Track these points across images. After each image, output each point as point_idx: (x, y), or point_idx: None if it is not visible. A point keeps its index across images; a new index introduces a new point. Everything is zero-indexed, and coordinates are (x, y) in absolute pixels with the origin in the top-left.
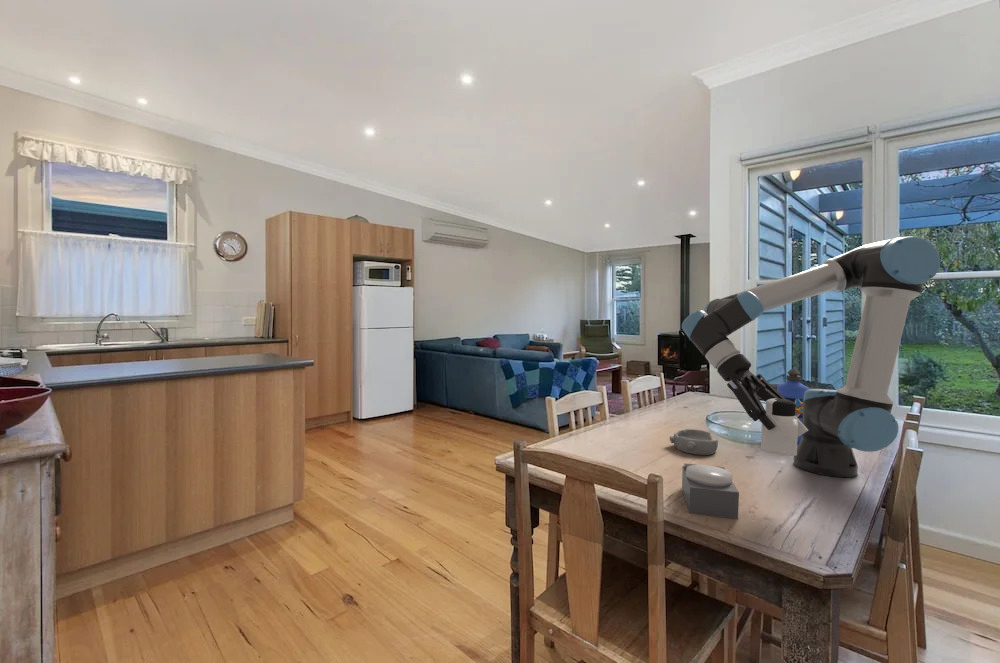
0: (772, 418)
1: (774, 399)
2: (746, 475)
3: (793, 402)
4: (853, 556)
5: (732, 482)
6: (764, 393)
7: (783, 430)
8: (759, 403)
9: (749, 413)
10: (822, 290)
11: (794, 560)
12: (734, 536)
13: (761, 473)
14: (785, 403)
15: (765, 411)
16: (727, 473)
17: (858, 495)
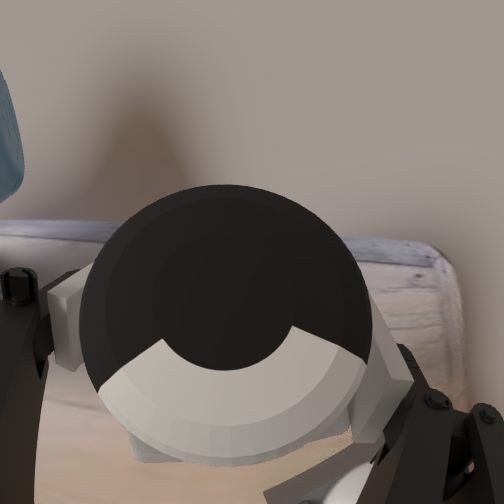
0: (400, 352)
1: (255, 367)
2: (82, 464)
3: (207, 190)
4: (378, 239)
5: (365, 460)
6: (8, 492)
7: (371, 305)
8: (433, 461)
9: (467, 470)
10: None
11: (452, 301)
12: (452, 391)
13: (44, 429)
14: (334, 240)
15: (428, 395)
16: (360, 481)
17: (72, 241)
